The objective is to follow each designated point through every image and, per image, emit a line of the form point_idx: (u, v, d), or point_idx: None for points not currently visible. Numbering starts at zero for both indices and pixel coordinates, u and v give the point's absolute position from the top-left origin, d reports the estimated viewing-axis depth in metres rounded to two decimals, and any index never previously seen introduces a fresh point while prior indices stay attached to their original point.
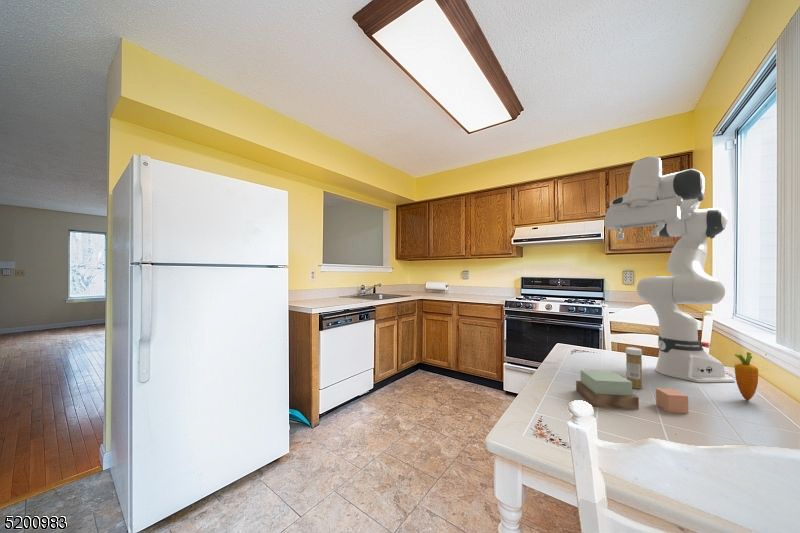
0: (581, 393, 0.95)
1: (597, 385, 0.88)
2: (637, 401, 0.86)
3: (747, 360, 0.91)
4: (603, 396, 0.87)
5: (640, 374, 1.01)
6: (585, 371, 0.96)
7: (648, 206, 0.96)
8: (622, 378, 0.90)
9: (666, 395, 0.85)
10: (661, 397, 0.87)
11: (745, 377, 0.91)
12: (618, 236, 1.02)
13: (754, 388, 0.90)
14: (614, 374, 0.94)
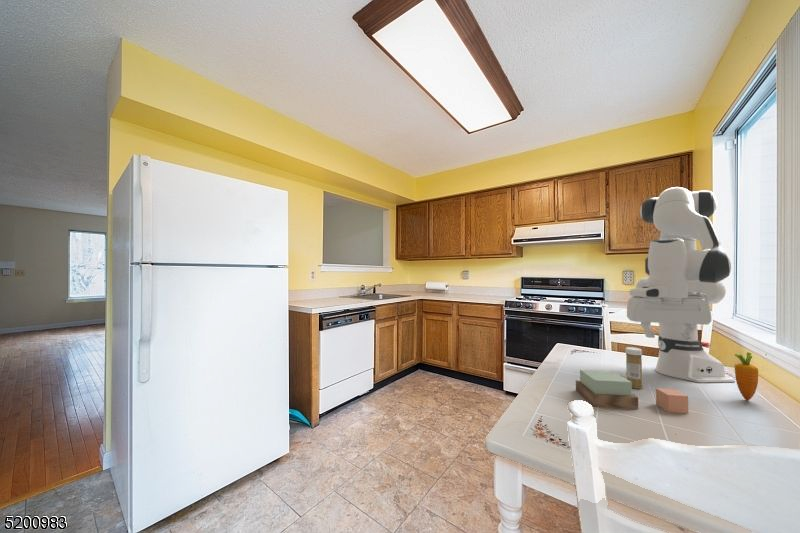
0: (581, 393, 0.95)
1: (596, 385, 0.88)
2: (637, 401, 0.86)
3: (747, 360, 0.91)
4: (603, 396, 0.87)
5: (640, 374, 1.01)
6: (585, 371, 0.97)
7: (682, 304, 0.85)
8: (621, 378, 0.90)
9: (666, 395, 0.85)
10: (661, 397, 0.87)
11: (745, 377, 0.91)
12: (650, 335, 0.87)
13: (754, 388, 0.90)
14: (613, 374, 0.94)
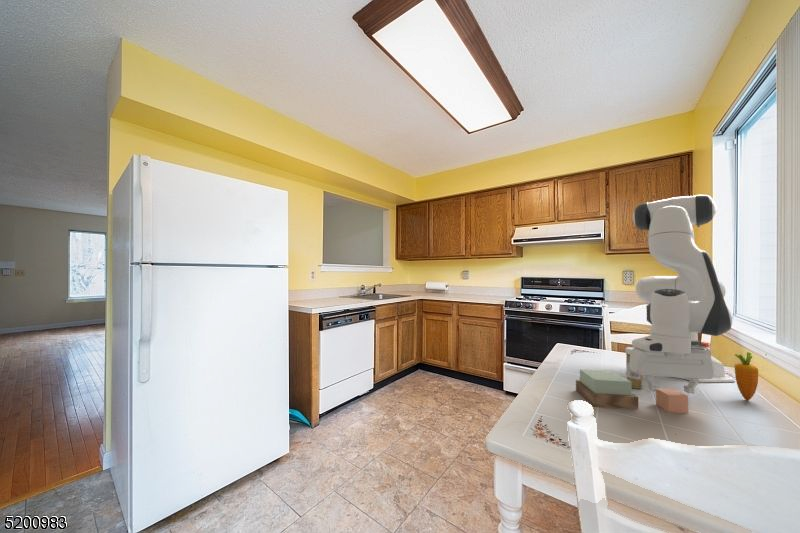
0: (581, 393, 0.95)
1: (596, 385, 0.88)
2: (637, 401, 0.86)
3: (747, 360, 0.91)
4: (603, 395, 0.87)
5: None
6: (584, 371, 0.97)
7: (685, 358, 0.84)
8: (621, 378, 0.90)
9: (666, 395, 0.85)
10: (661, 397, 0.87)
11: (745, 377, 0.91)
12: (653, 389, 0.86)
13: (754, 388, 0.90)
14: (613, 374, 0.94)
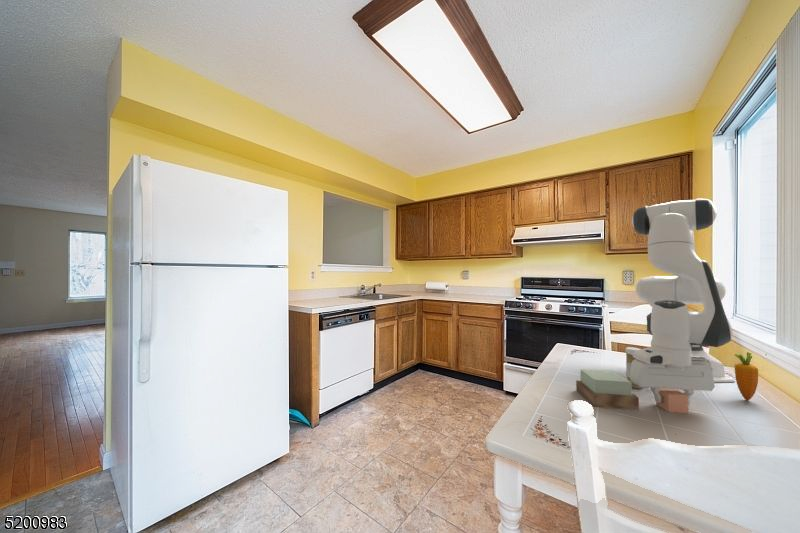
0: (581, 393, 0.95)
1: (596, 385, 0.89)
2: (637, 401, 0.86)
3: (747, 360, 0.91)
4: (603, 396, 0.87)
5: None
6: (585, 370, 0.97)
7: (685, 370, 0.84)
8: (622, 378, 0.90)
9: (666, 395, 0.85)
10: None
11: (745, 377, 0.91)
12: (660, 401, 0.86)
13: (754, 388, 0.90)
14: (614, 374, 0.94)
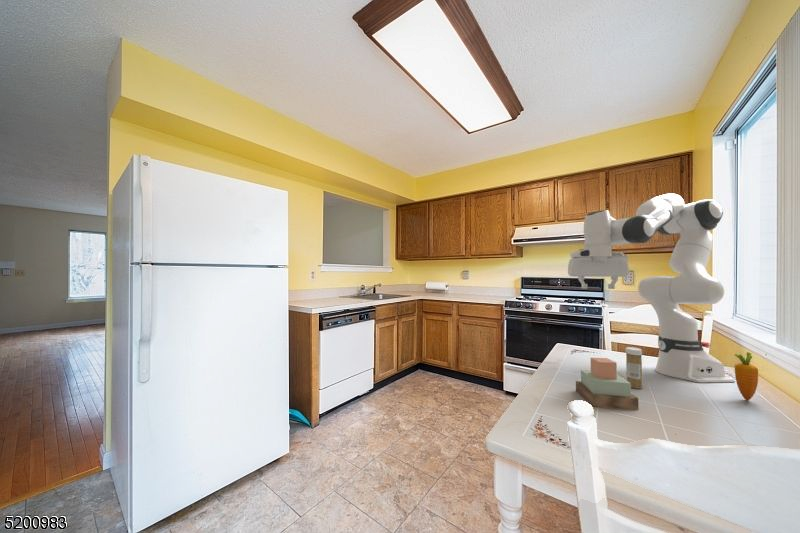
0: (581, 394, 0.95)
1: (594, 385, 0.89)
2: (637, 402, 0.85)
3: (747, 360, 0.91)
4: (603, 396, 0.87)
5: (640, 374, 1.01)
6: (585, 371, 0.97)
7: (607, 262, 1.10)
8: (622, 379, 0.90)
9: (597, 363, 0.91)
10: (594, 365, 0.93)
11: (745, 377, 0.91)
12: (584, 287, 1.12)
13: (754, 388, 0.90)
14: None
